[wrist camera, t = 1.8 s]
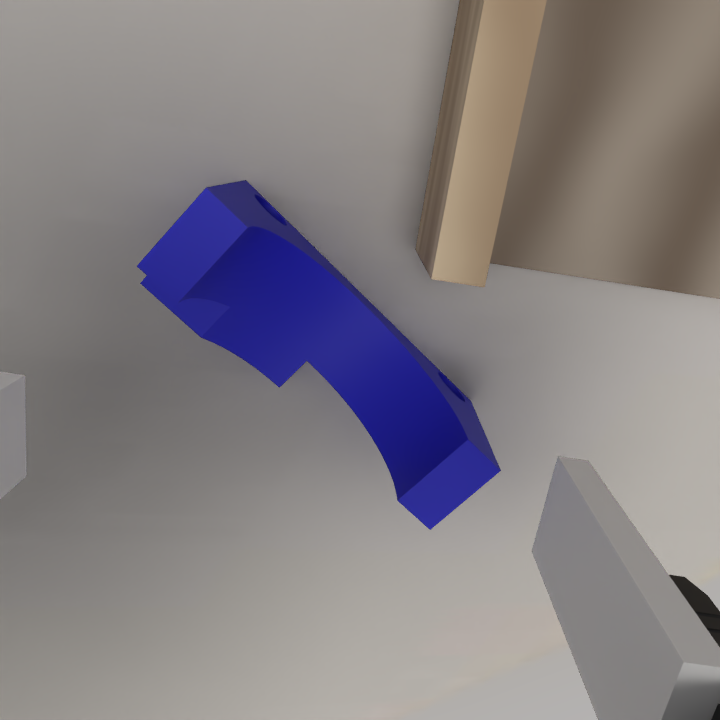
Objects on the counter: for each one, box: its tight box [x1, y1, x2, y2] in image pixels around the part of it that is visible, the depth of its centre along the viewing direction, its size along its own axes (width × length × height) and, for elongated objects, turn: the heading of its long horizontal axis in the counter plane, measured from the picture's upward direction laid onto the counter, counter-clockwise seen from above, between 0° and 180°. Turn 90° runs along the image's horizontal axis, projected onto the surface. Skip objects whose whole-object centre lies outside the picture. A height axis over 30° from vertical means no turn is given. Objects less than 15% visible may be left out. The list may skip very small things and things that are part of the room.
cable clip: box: [137, 180, 501, 529], centre depth 21 cm, size 12×4×6 cm, turn 45°
